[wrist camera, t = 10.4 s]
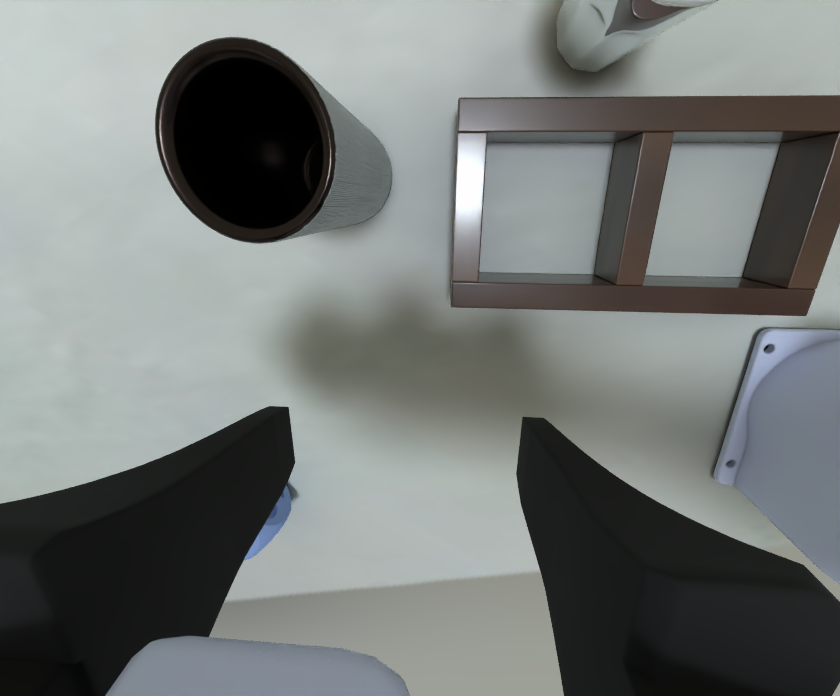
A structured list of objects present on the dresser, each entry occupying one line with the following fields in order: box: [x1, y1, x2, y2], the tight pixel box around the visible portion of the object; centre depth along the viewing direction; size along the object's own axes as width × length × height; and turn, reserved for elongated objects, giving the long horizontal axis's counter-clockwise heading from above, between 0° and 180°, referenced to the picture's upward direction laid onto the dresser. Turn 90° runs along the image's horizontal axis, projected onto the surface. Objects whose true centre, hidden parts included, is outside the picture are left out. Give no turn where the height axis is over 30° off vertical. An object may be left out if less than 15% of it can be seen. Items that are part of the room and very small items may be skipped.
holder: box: [451, 95, 840, 316], centre depth 18 cm, size 8×16×3 cm, turn 89°
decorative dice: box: [244, 485, 291, 560], centre depth 24 cm, size 4×4×4 cm
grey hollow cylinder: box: [155, 37, 392, 244], centre depth 14 cm, size 4×4×10 cm
